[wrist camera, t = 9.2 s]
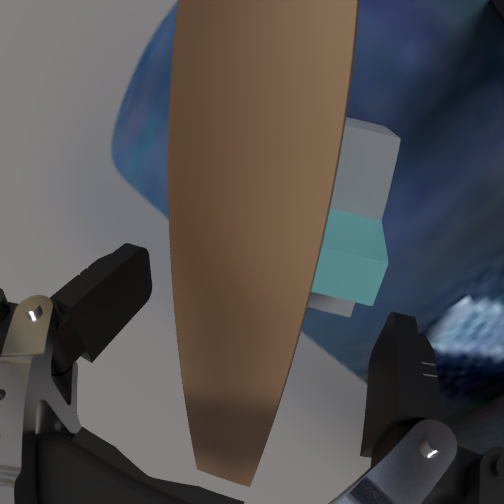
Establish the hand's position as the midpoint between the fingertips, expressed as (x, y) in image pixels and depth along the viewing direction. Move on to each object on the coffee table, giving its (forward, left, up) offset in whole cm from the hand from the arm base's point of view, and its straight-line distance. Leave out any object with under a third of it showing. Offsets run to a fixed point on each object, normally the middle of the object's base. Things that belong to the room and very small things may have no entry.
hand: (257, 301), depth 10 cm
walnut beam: (0, 0, -3) cm, 3 cm away
